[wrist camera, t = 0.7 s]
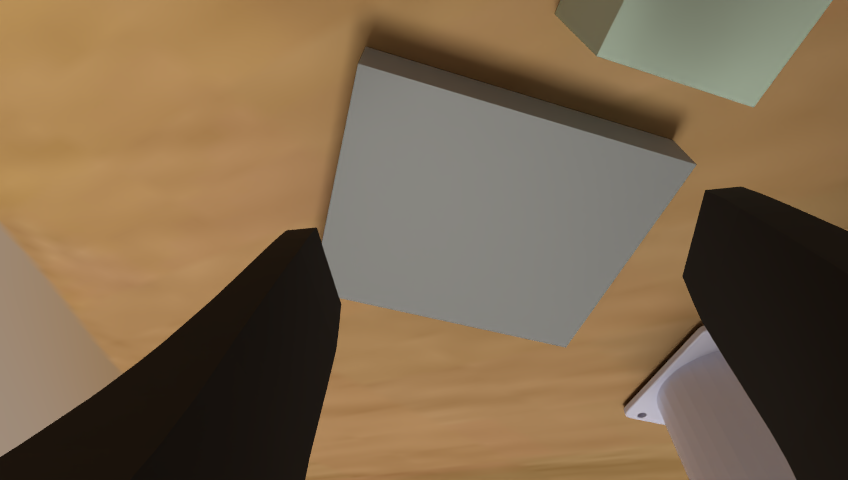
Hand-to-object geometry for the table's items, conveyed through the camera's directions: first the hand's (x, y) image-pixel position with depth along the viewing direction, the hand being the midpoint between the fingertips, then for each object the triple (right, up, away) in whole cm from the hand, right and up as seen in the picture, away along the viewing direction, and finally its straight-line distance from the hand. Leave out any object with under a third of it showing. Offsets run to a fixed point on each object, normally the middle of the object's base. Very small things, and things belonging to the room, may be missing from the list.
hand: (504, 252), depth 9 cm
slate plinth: (+1, +2, +11) cm, 11 cm away
